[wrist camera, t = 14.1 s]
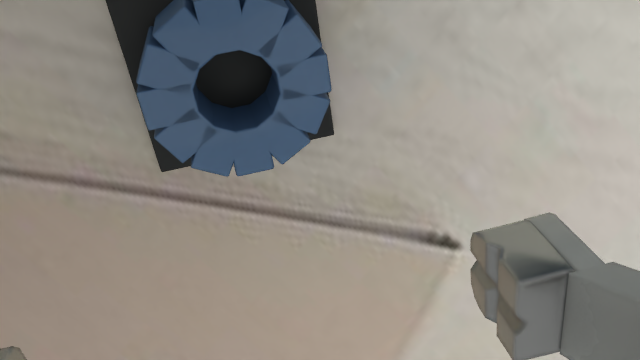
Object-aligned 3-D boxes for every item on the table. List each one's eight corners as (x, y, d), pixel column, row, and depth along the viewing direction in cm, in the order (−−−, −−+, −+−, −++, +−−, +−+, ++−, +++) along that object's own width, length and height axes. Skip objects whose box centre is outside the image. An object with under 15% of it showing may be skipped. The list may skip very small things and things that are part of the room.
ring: (169, 164, 23) (168, 193, 21) (117, 0, 20) (111, 17, 18) (328, 129, 24) (340, 154, 22) (304, -36, 20) (316, -23, 19)
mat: (161, 167, 24) (161, 172, 23) (104, -10, 20) (103, -8, 20) (332, 130, 24) (334, 135, 24) (306, -48, 21) (308, -46, 20)
